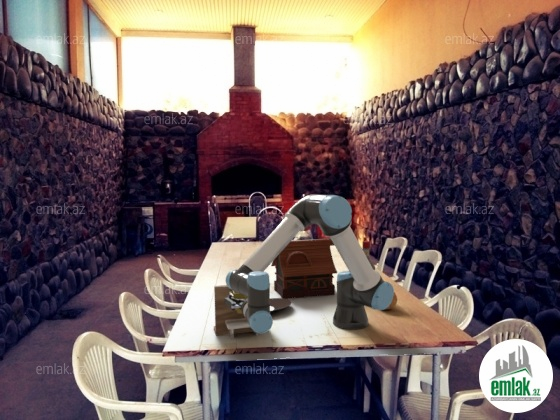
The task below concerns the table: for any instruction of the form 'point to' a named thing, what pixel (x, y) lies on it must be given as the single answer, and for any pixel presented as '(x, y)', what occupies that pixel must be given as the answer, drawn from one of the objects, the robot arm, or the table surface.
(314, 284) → the house
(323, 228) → the robot arm
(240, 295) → the flower pot
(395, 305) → the onion
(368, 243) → the liquor
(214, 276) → the table surface
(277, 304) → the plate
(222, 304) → the cleat board
